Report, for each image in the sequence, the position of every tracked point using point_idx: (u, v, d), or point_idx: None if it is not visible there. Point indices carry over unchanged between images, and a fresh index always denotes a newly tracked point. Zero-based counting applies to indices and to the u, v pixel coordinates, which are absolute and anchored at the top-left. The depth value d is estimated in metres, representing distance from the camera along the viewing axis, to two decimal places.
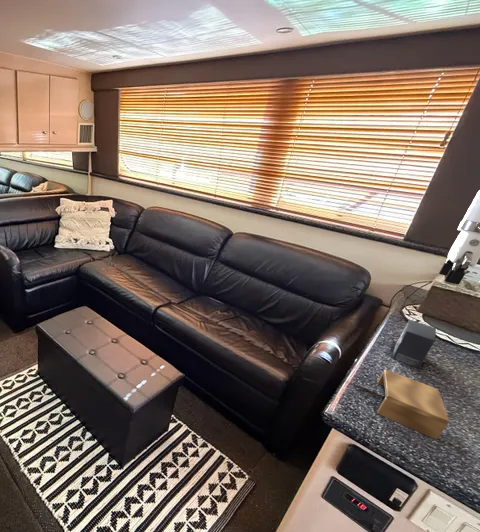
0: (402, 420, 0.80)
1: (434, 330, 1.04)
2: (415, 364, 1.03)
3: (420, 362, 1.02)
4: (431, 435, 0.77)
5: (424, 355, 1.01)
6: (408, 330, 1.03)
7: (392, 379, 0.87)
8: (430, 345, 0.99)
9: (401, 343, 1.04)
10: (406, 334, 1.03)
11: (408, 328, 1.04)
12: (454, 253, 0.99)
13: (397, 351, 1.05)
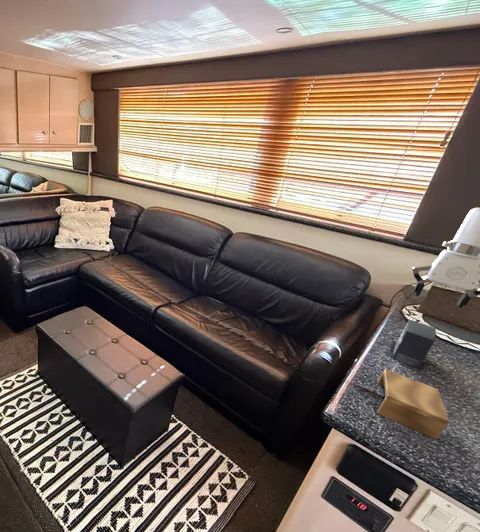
0: (402, 420, 0.80)
1: (434, 330, 1.04)
2: (415, 364, 1.03)
3: (420, 362, 1.02)
4: (431, 435, 0.77)
5: (424, 355, 1.01)
6: (407, 330, 1.03)
7: (392, 379, 0.87)
8: (430, 345, 0.99)
9: (401, 343, 1.04)
10: (406, 334, 1.03)
11: (408, 328, 1.04)
12: None
13: (397, 351, 1.05)
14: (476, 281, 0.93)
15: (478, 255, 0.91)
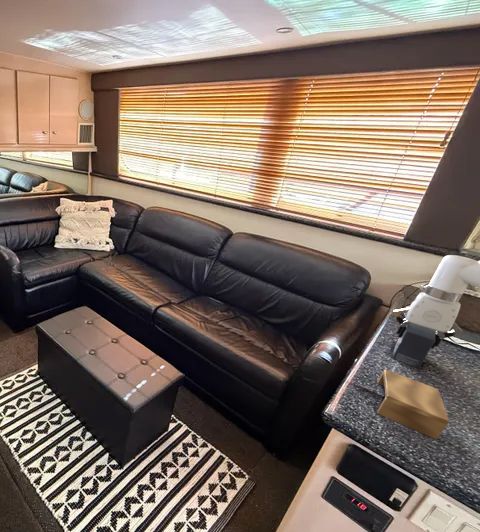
0: (402, 420, 0.80)
1: (434, 330, 1.04)
2: (415, 364, 1.03)
3: (420, 362, 1.02)
4: (431, 435, 0.77)
5: (424, 355, 1.01)
6: (408, 330, 1.03)
7: (392, 379, 0.87)
8: (430, 345, 0.99)
9: (401, 343, 1.04)
10: (406, 334, 1.03)
11: (408, 328, 1.04)
12: None
13: (397, 351, 1.05)
14: (450, 324, 0.98)
15: (451, 300, 0.96)
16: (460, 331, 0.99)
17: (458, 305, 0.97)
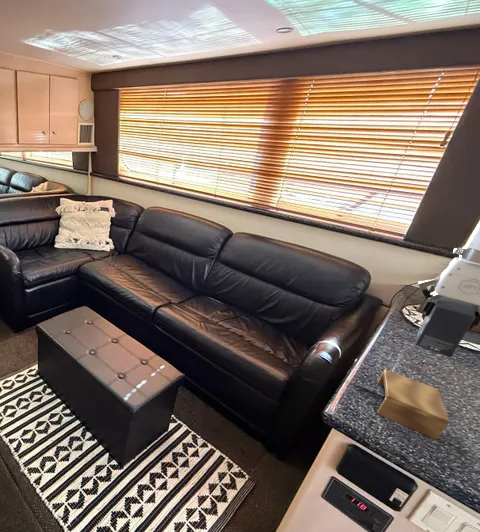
0: (402, 420, 0.80)
1: (472, 306, 0.82)
2: (448, 349, 0.80)
3: (454, 346, 0.79)
4: (431, 435, 0.77)
5: (460, 337, 0.78)
6: (438, 306, 0.81)
7: (392, 379, 0.87)
8: (468, 323, 0.77)
9: (429, 322, 0.82)
10: (436, 310, 0.81)
11: (438, 303, 0.82)
12: None
13: (424, 333, 0.83)
14: None
15: None
16: None
17: None
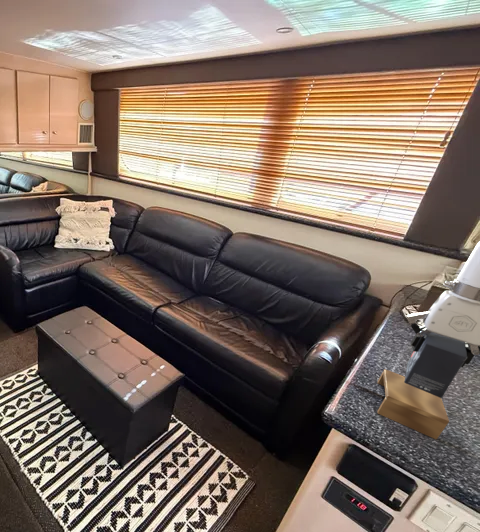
0: (402, 420, 0.80)
1: (463, 342, 0.77)
2: (438, 389, 0.75)
3: (445, 386, 0.74)
4: (431, 435, 0.77)
5: (451, 377, 0.73)
6: (428, 343, 0.75)
7: (392, 379, 0.87)
8: (460, 364, 0.72)
9: (418, 360, 0.76)
10: (426, 348, 0.75)
11: (428, 339, 0.77)
12: None
13: (413, 370, 0.77)
14: None
15: None
16: None
17: None
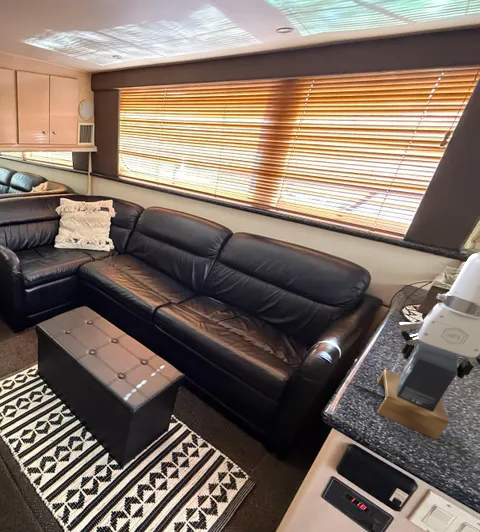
0: (402, 420, 0.80)
1: (454, 356, 0.78)
2: (429, 403, 0.77)
3: (436, 400, 0.76)
4: (431, 435, 0.77)
5: (442, 392, 0.75)
6: (419, 358, 0.77)
7: (392, 379, 0.87)
8: (450, 379, 0.73)
9: (410, 374, 0.78)
10: (417, 362, 0.77)
11: (420, 354, 0.78)
12: None
13: (405, 384, 0.79)
14: None
15: None
16: None
17: None
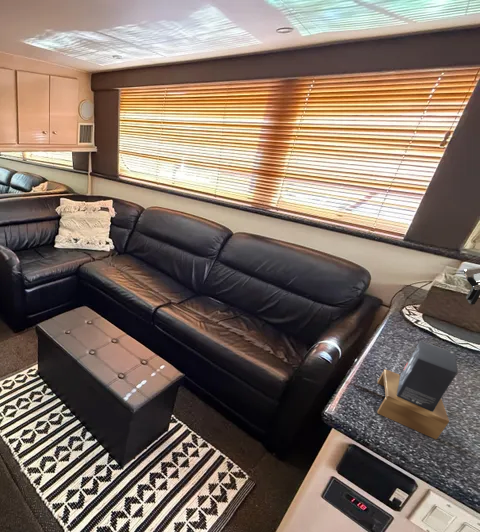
0: (402, 420, 0.80)
1: (454, 356, 0.78)
2: (429, 403, 0.77)
3: (436, 400, 0.76)
4: (431, 435, 0.77)
5: (442, 392, 0.75)
6: (419, 358, 0.77)
7: (392, 379, 0.87)
8: (450, 379, 0.73)
9: (410, 374, 0.78)
10: (417, 362, 0.77)
11: (420, 354, 0.78)
12: None
13: (405, 384, 0.79)
14: None
15: None
16: None
17: None
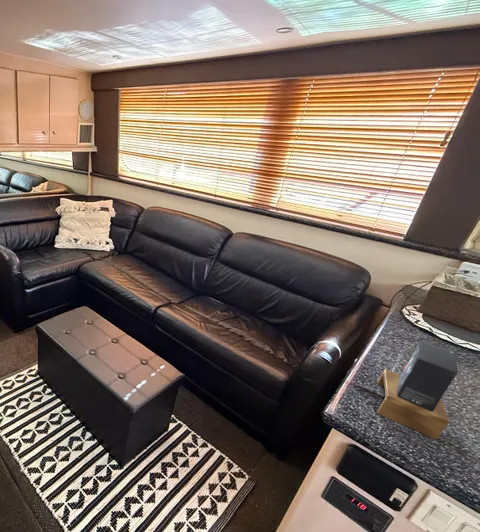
0: (402, 420, 0.80)
1: (454, 356, 0.78)
2: (429, 403, 0.77)
3: (436, 400, 0.76)
4: (431, 435, 0.77)
5: (442, 392, 0.75)
6: (419, 358, 0.77)
7: (392, 379, 0.87)
8: (450, 379, 0.73)
9: (410, 374, 0.78)
10: (417, 362, 0.77)
11: (420, 354, 0.78)
12: None
13: (405, 384, 0.79)
14: None
15: None
16: None
17: None
